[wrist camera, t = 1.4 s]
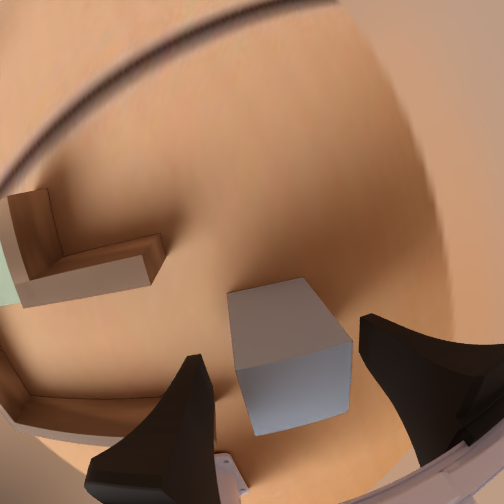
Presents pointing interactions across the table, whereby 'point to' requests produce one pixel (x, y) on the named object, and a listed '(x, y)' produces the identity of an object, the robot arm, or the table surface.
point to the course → (59, 290)
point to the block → (288, 356)
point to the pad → (6, 283)
